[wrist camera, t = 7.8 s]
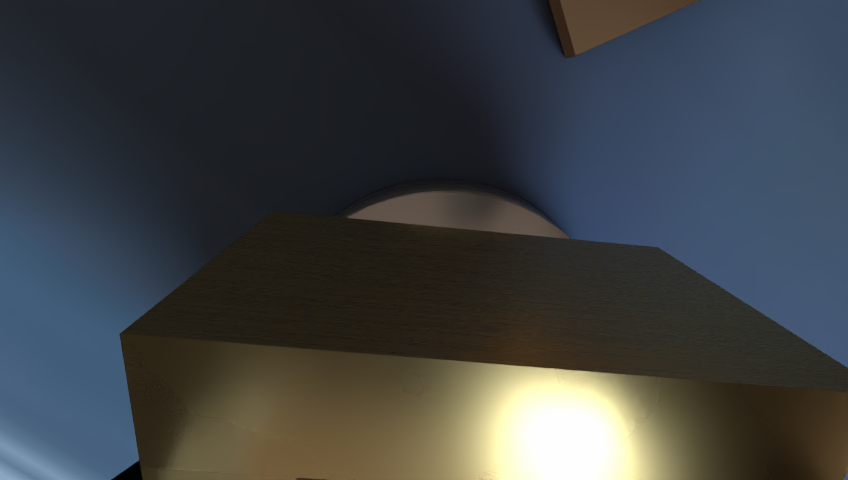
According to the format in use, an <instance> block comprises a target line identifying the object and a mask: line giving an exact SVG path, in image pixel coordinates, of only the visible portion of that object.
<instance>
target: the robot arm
mask: <svg viewBox="0 0 848 480" xmlns="http://www.w3.org/2000/svg"><path fill="white" fill-rule="evenodd" d="M111 480H143V479H142V473H141V466H140V460H139V461H137V462H136V463H135V464H133V465H132V466H130V467H129V468H127V469H126V470H124V471H123V472H122V473H120V474H119V475H117V476H116V477H114V478H113V479H111Z"/></svg>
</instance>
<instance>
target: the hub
mask: <svg viewBox="0 0 848 480" xmlns="http://www.w3.org/2000/svg"><path fill="white" fill-rule="evenodd" d="M335 217H344V218H354V219H365V220H375V221H386V222H396V223H407V224H417V225H428V226H438V227H449V228H459V229H470V230H480V231H491V232H501V233H512V234H522V235H533V236H543V237H554V238H564V239H570V238H569V237H568V236H567V235H566V234H565V233H564V232H563V231H562V230H561V229H560V228H559V227H558V226H556V225H555V224H554V223H553V222H552V221H551V220H550V219H549V218H548V217H546V216H545V215H544V214H543V213H542V212H541V211H540V210H538V209H536V208H535V207H533V206H532V205H530V204H529V203H527V202H526V201H524V200H523V199H521V198H519V197H517V196H515V195H513V194H510V193H508V192H506V191H504V190H501V189H498V188H495V187H492V186H489V185H486V184H482V183H477V182H471V181H466V180H458V179H427V180H416V181H411V182H406V183H402V184H397V185H393V186H390V187H388V188H385V189H382V190H379V191H376V192H374V193H372V194H370V195H368V196H366V197H364V198H362V199H360V200H358V201H356V202H354V203H353V204H351V205H350V206H348V207H347V208H345V209H344V210H343V211H341V212H340V213H338V214H337V215H336V216H335Z"/></svg>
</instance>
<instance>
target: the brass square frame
mask: <svg viewBox="0 0 848 480" xmlns="http://www.w3.org/2000/svg"><path fill="white" fill-rule="evenodd" d="M120 339H121V345H122V352H123V358H124V364H125V371H126V377H127V384H128V390H129V396H130V403H131V409H132V415H133V422H134V428H135V435H136V441H137V447H138V454H139V460H140V466H141V473H142V479H143V480H843V479H844V477H845V476H846V474H847V472H848V368H847V367H845V366H844V365H842V364H841V363H839V362H838V361H836V360H834V359H833V358H831V357H830V356H828V355H827V354H825V353H823V352H822V351H820V350H819V349H817V348H815V347H814V346H812V345H811V344H809V343H808V342H806V341H804V340H803V339H801V338H800V337H798V336H797V335H795V334H793V333H792V332H790V331H789V330H787V329H786V328H784V327H782V326H781V325H779V324H778V323H776V322H775V321H773V320H771V319H770V318H768V317H767V316H765V315H764V314H762V313H760V312H759V311H757V310H756V309H754V308H753V307H751V306H749V305H748V304H746V303H745V302H743V301H742V300H740V299H738V298H737V297H735V296H734V295H732V294H731V293H729V292H727V291H726V290H724V289H723V288H721V287H719V286H718V285H716V284H715V283H713V282H712V281H710V280H708V279H707V278H705V277H704V276H702V275H701V274H699V273H697V272H696V271H694V270H693V269H691V268H690V267H688V266H686V265H685V264H683V263H682V262H680V261H679V260H677V259H675V258H674V257H672V256H671V255H669V254H668V253H666V252H664V251H663V250H661V249H660V248H658V247H649V246H638V245H628V244H617V243H607V242H596V241H586V240H575V239H564V238H554V237H543V236H533V235H522V234H512V233H501V232H491V231H480V230H470V229H459V228H449V227H438V226H428V225H417V224H407V223H396V222H386V221H375V220H365V219H354V218H344V217H333V216H323V215H312V214H302V213H291V212H281V211H273V212H271V213H270V214H269V215H268V216H266V217H265V218H264V219H263V220H261V221H260V222H259V223H258V224H256V225H255V226H254V227H253V228H251V229H250V230H249V231H248V232H246V233H245V234H244V235H243V236H241V237H240V238H239V239H238V240H236V241H235V242H234V243H233V244H231V245H230V246H229V247H228V248H226V249H225V250H224V251H223V252H221V253H220V254H219V255H218V256H216V257H215V258H214V259H213V260H211V261H210V262H209V263H208V264H206V265H205V266H204V267H203V268H201V269H200V270H199V271H198V272H196V273H195V274H194V275H193V276H191V277H190V278H189V279H188V280H186V281H185V282H184V283H183V284H181V285H180V286H179V287H178V288H176V289H175V290H174V291H173V292H171V293H170V294H169V295H168V296H166V297H165V298H164V299H163V300H161V301H160V302H159V303H158V304H156V305H155V306H154V307H153V308H151V309H150V310H149V311H148V312H146V313H145V314H144V315H143V316H141V317H140V318H139V319H138V320H136V321H135V322H134V323H133V324H131V325H130V326H129V327H128V328H126V329H125V330H124V331H123V332H121V333H120Z"/></svg>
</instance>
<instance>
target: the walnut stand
mask: <svg viewBox="0 0 848 480" xmlns="http://www.w3.org/2000/svg"><path fill="white" fill-rule="evenodd" d="M697 1H699V0H549V3H550V6H551V10H552V13H553V17H554V20H555V24H556V27H557V30H558V34H559V37H560V41H561V44H562V48H563V51H564V55H565V58H569V57H573V56H576V55H579V54H581V53H583V52H585V51H587V50H590V49H592V48H594V47H596V46H599V45H601V44H603V43H605V42H608V41H610V40H612V39H614V38H617V37H619V36H621V35H623V34H626V33H628V32H630V31H632V30H634V29H637V28H639V27H641V26H643V25H646V24H648V23H650V22H652V21H655V20H657V19H659V18H661V17H664V16H666V15H668V14H670V13H672V12H675V11H677V10H679V9H681V8H684V7H686V6H688V5H690V4H693V3H695V2H697Z"/></svg>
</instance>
